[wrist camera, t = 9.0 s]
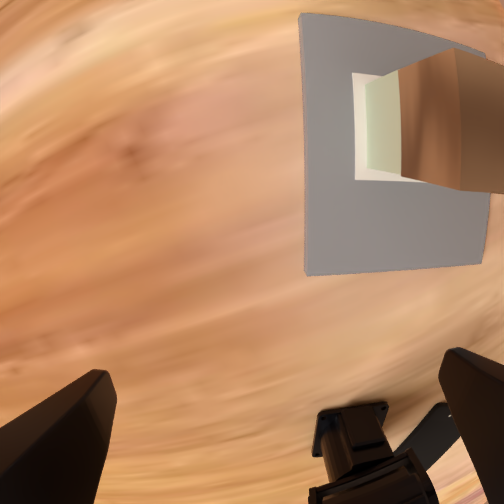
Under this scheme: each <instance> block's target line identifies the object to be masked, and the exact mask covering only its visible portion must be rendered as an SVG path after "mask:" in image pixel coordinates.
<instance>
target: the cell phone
mask: <svg viewBox="0 0 504 504" xmlns="http://www.w3.org/2000/svg"><path fill="white" fill-rule="evenodd" d="M460 436H461V435H460V433H459V431H458V429H457V427H456V425H455V422H454V420H453V417H452V414H451V412H450V409H449V406H448V403H437V404H436V405H434V407H433V408H432V409H431V410H430V411H429V413H428V414H427V415H426V416H425V418H424V419H423V420H422V421H421V422H420V423H419V425H418V426H417V427H416V428H415V429H414V430H413V431H412V433H411V434H410V435H409V436H408V437H407V438H406V439H405V440H404V441H403V443H402V444H401V445H400V446H399V447H398V448H397V449H396V450H395V451H394V452H393V454H394V456H397V455H399V454H401V453H403V452H405V450H407V449H409V448H411V447H412V449H413V451H414V452H415V454H416V456H417V457H418V459H419V461H420V462H421V464H422V466H423V468H424V469H425V471H427V470H428V469H429V468H430V467H431V466H432V465H433V464H434V463H435V462H436V461H437V460H438V459H439V458H440V457H441V456H442V455H443V454H444V453H445V452H446V451H447V450H448V449H449V448H450V447H451V446H452V445H453V444H454V443H455V442H456V441H457V439H458V438H459V437H460Z"/></svg>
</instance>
